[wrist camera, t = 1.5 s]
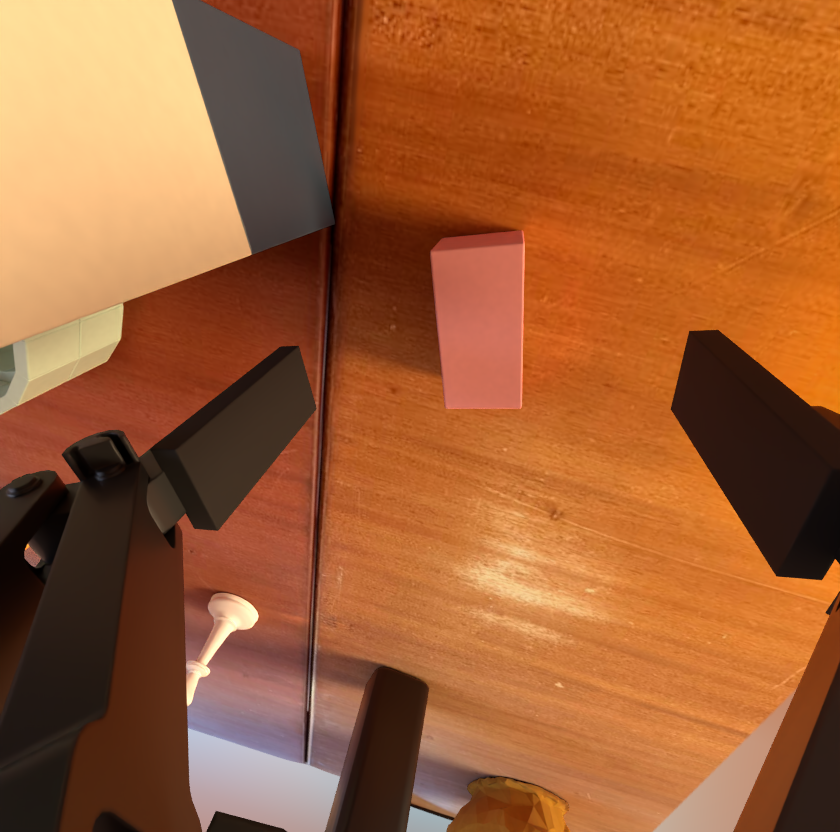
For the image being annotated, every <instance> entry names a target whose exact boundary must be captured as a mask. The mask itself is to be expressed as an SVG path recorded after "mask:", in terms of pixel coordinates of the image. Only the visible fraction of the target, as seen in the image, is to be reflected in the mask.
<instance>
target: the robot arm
mask: <svg viewBox="0 0 840 832" xmlns="http://www.w3.org/2000/svg"><path fill="white" fill-rule="evenodd" d="M316 409H317V408H316V405H315V401H314V398H313V394H312V391H311V387H310V384H309V380H308V377H307V373H306V370H305V366H304V363H303V359H302V356H301V352H300V349H299V346H283V347H279V348H278V349H277V350H276V351H274V352H273V353H272V354H270V355H269V356H268V357H267V358H265V359H264V360H263V361H262V362H260V363H259V364H258V365H256V366H255V367H254V368H253V369H251V370H250V371H249V372H247V373H246V374H245V375H244V376H242V377H241V378H240V379H239V380H237V381H236V382H235V383H233V384H232V385H231V386H230V387H228V388H227V389H226V390H224V391H223V392H222V393H221V394H219V395H218V396H217V397H216V398H214V399H213V400H212V401H210V402H209V403H208V404H207V405H205V406H204V407H203V408H201V409H200V410H199V411H198V412H196V413H195V414H194V415H193V416H191V417H190V418H189V419H187V420H186V421H185V422H184V423H182V424H181V425H180V426H178V427H177V428H176V429H175V430H173V431H172V432H171V433H170V434H168V435H167V436H166V437H164V438H163V439H162V440H161V441H159V442H158V443H157V444H155V445H154V446H153V447H152V448H150V450H148V451H147V452H146V453H145V454H143V455H142V456H141V457H138V456H137V454H136V452H135V451H134V449H133V447H132V446H131V444H130V442H129V440H128V439H127V437H126V435H125V434H124V432H123V431H120V430H108V431H104V432H100V433H96V434H94V435H91V436H88V437H86V438H84V439H82V440H80V441H78V442H76V443H74V444H73V445H71V446H70V447H68V448H67V449H66V450H65V451H64V452H63V454H62V456H63V457H64V459H65V460H66V462H67V463H68V464H69V466H70V467H71V469H72V470H73V471H74V473H75V474H76V476H77V477H78V478H79V480H80V482H78V483H72V484H67V485H65V484H64V483H63V481H62V480H61V479H60V477H59V476H58V475H57V473H56V472H55V471H50V470H47V471H39V472H36V473H33V474H26V475H24V476H22V477H19V478H17V479H15V480H13V481H12V482H11V483H10V484H8V485H6V486H5V487H3V488H2V489H1V490H0V832H202V829H201V824H200V820H199V817H198V815H197V812H196V809H195V807H194V804H193V802H192V798H191V793H190V786H189V765H188V764H189V761H188V724H187V688H186V652H185V616H184V579H183V543H182V531H181V529H180V527H179V525H178V523H177V522H178V521H179V519H180V518H181V517H182V516H183V515H184V514H185V513H186V514H187V516H188V518H189V520H190V521H191V523H192V525H193V527H194V529H204V530H216V531H218V530H219V529H220V528H221V526H222V525H223V524H224V523H225V521H226V520H227V519H228V518H229V516H230V515H231V514H232V513H233V512H234V510H235V509H236V508H237V507H238V505H239V504H240V503H241V502H242V500H243V499H244V498H245V497H246V495H247V494H248V493H249V492H250V490H251V489H252V488H253V487H254V486H255V484H256V483H257V482H258V481H259V479H260V478H261V477H262V476H263V474H264V473H265V472H266V471H267V469H268V468H269V467H270V466H271V464H272V463H273V462H274V461H275V460H276V458H277V457H278V456H279V455H280V453H281V452H282V451H283V450H284V448H285V447H286V446H287V445H288V443H289V442H290V441H291V440H292V439H293V437H294V436H295V435H296V434H297V432H298V431H299V430H300V429H301V427H302V426H303V425H304V424H305V422H306V421H307V420H308V419H309V417H310V416H311V415H312V414H313V413H314V411H315V410H316ZM671 410H672V412H673V413H674V415H675V417H676V418H677V420H678V421H679V423H680V424H681V426H682V428H683V429H684V431H685V432H686V434H687V435H688V437H689V439H690V440H691V442H692V443H693V445H694V447H695V448H696V450H697V451H698V453H699V454H700V456H701V458H702V459H703V461H704V462H705V464H706V466H707V467H708V469H709V470H710V472H711V473H712V475H713V477H714V478H715V480H716V481H717V483H718V485H719V486H720V488H721V489H722V491H723V492H724V494H725V496H726V497H727V499H728V500H729V502H730V503H731V505H732V507H733V508H734V510H735V511H736V513H737V515H738V516H739V518H740V519H741V521H742V522H743V524H744V526H745V527H746V529H747V530H748V532H749V534H750V535H751V537H752V538H753V540H754V541H755V543H756V545H757V546H758V548H759V549H760V551H761V553H762V554H763V556H764V557H765V559H766V560H767V562H768V564H769V565H770V567H771V568H772V570H773V571H774V573H775V575H776V576H779V577H791V578H803V579H816V580H822V579H823V578H824V576H825V575H826V573H827V571H828V570H829V568H830V566H831V565H832V563H833V562H834V560H835V559H836V560H837V561H838V562H839V564H840V414H837V413H835V412H833V411H831V410H829V409H826V408H824V407H822V406H810V405H809V404H808V403H806V402H805V401H804V400H803V399H801V398H800V397H799V396H798V395H797V394H795V393H794V392H793V391H792V390H790V389H789V388H788V387H787V386H786V385H784V384H783V383H782V382H781V381H780V380H778V379H777V378H776V377H775V376H773V375H772V374H771V373H770V372H769V371H767V370H766V369H765V368H764V367H763V366H761V365H760V364H759V363H758V362H756V361H755V360H754V359H753V358H752V357H750V356H749V355H748V354H747V353H746V352H744V351H743V350H742V349H741V348H739V347H738V346H737V345H736V344H735V343H733V342H732V341H731V340H730V339H729V338H727V337H726V336H725V335H724V334H722V333H721V332H720V331H719V330H704V331H689V335H688V339H687V343H686V347H685V352H684V356H683V360H682V364H681V368H680V373H679V377H678V381H677V385H676V390H675V394H674V398H673V402H672V406H671ZM27 544H28V545H29V546H30V547H31V548H32V549H33V550H34V552H35V553H36V554H37V555H38V556H39V557H40V558H41V560H40V562H39V563H38V565H37V566H36V567H33V566H31V565H30V564H29V563H28V562H27V561H26V560H25V559H24V551H25V548H26V546H27ZM826 613H827V614H829V615H830V616H829V618H828V620H827V623H826V625H825V627H824V629H823V632H822V634H821V636H820V638H819V641H818V643H817V645H816V647H815V649H814V652H813V654H812V656H811V658H810V661H809V663H808V665H807V667H806V670H805V672H804V674H803V676H802V679H801V681H800V683H799V685H798V688H797V690H796V692H795V694H794V697H793V699H792V701H791V703H790V706H789V708H788V710H787V712H786V715H785V717H784V719H783V722H782V724H781V726H780V728H779V730H778V733H777V735H776V737H775V739H774V742H773V744H772V746H771V748H770V750H769V753H768V755H767V757H766V760H765V762H764V764H763V766H762V768H761V771H760V773H759V775H758V777H757V780H756V782H755V784H754V787H753V789H752V791H751V793H750V796H749V798H748V800H747V802H746V804H745V807H744V809H743V811H742V814H741V816H740V818H739V820H738V823H737V825H736V827H735V829H734V831H733V832H840V592H839V593H838V595H837V596H836V598H835V599H834V601H833V602H832V604H831V605H830V607H829V608H828V610H827V611H826ZM207 832H287V831H285V830H284V829H282V828H278V827H274V826H270V825H267V824H263V823H259V822H256V821H252V820H248V819H244V818H241V817H237V816H233V815H229V814H225V813H222V812H218V811H216V812H215V814H214V816H213V819H212V821H211V823H210V825H209V827H208V829H207Z"/></svg>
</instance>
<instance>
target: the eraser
mask: <svg viewBox="0 0 840 832" xmlns="http://www.w3.org/2000/svg"><path fill="white" fill-rule="evenodd" d="M524 254H525V243H524V235H523V231H521V230H520V231H509V232H499V233H489V234H479V235H468V236H458V237H448V238H442V239H441V240H440V241H439V242H438V243H437V244H436V245H435V247H434V248H433V249H432V250H431V251H430V260H431V270H432V280H433V290H434V301H435V311H436V321H437V331H438V341H439V352H440V362H441V372H442V382H443V392H444V403H445V408H447V409H520V408H521V407H522V368H523V311H524Z"/></svg>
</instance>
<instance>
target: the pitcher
mask: <svg viewBox="0 0 840 832" xmlns="http://www.w3.org/2000/svg"><path fill="white" fill-rule="evenodd" d="M467 789H468V791H469V793H470V794H471V795H472V798H471V801H470V802H469V803H467V804H466V805H465V806H464V807H462V808H461V809H460V811H459V812H458V814H457V816H456V817H455V819H454V820H453V821H452V822H451V824H450V825H448V828H447V832H570V830H569V828H568V827H567V825H566V824H565V821H564V818H563V816H564V814H565V813H566V812H567V811H569V807H568V806H569V805H568V803H567V802H566V801H565V800H562V799H560V798H559V797H557V796H555V795H553V794H552V793H550V792H548V791H545V790H544V789H543V788H541V787H539V786H535V785H533V786H532V784H525V783H524V784H523V783H522V782H519V781H514V780H513V779H511V778H510V779H507V778H504V777H498V778H497V777H496V778H495V779H494V778H492V779H491V778H490V777H487V778H485V779H483V778H482V779H481V778H480V779H478V780H477V781H476V780H475V781H473V782H471V783H470V784H469V785H468V788H467Z"/></svg>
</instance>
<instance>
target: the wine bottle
mask: <svg viewBox="0 0 840 832" xmlns="http://www.w3.org/2000/svg"><path fill="white" fill-rule="evenodd" d="M428 691H429V687H428V686H427V685H426V683H424V682H423V681H421V680H418V679H416V678H413V677H411V676H408V675H405V674H403V673H400V672H398V671H395V670H393V669H390V668H387V667H380V668H378V669H376V670H375V672H374V673H373V675H372V676H371V678H370V679H369V681H368V682H367V684H366V687H365V691H364V694H363V698H362V701H361V705H360V709H359V712H358V716H357V719H356V723H355V726H354V730H353V734H352V737H351V741H350V744H349V748H348V751H347V755H346V759H345V762H344V766H343V769H342V773H341V777H340V781H339V784H338V788H337V791H336V794H335V798H334V802H333V805H332V809H331V813H330V816H329V819H328V823H327V827H326V830H325V832H406V829H407V823H408V817H409V811H410V804H411V798H412V792H413V786H414V779H415V773H416V767H417V760H418V754H419V748H420V742H421V735H422V729H423V723H424V717H425V710H426V704H427V698H428Z"/></svg>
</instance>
